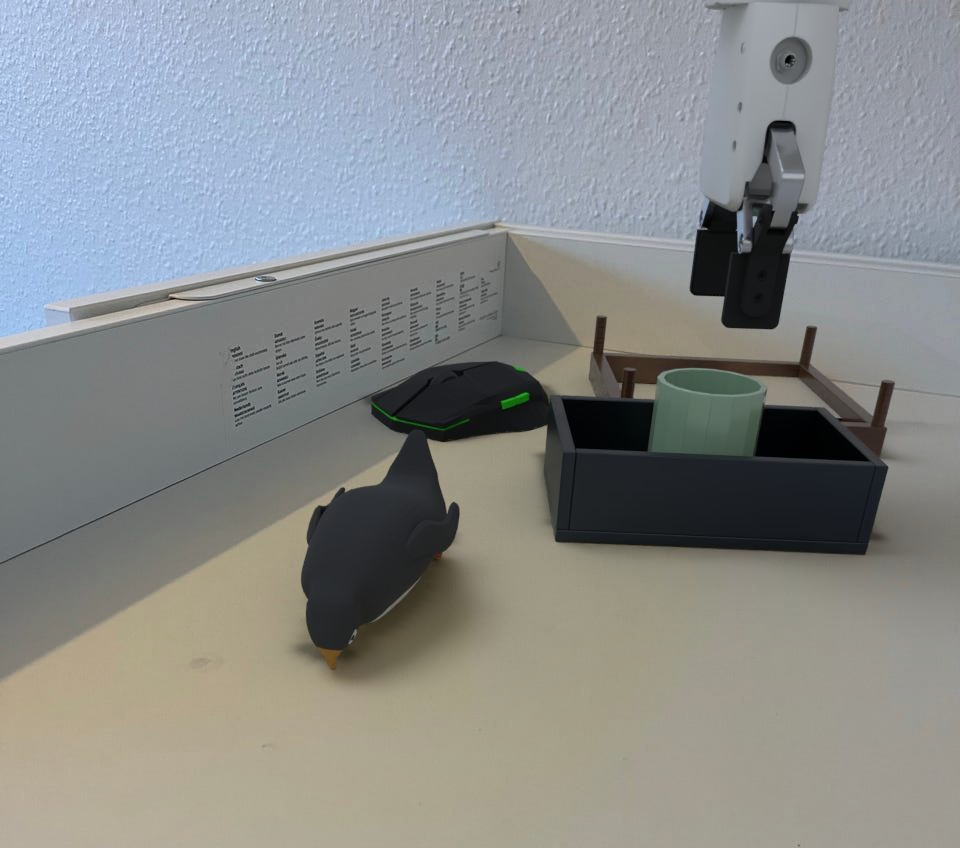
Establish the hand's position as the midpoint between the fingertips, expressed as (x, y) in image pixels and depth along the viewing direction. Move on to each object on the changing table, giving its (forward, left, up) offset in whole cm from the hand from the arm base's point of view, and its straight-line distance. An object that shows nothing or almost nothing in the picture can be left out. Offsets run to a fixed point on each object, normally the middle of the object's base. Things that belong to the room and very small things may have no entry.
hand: (729, 310), depth 61 cm
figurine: (+20, +16, -13) cm, 29 cm away
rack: (-7, -24, -13) cm, 28 cm away
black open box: (0, 0, -13) cm, 13 cm away
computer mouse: (+15, -20, -13) cm, 28 cm away
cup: (0, 0, -12) cm, 12 cm away
